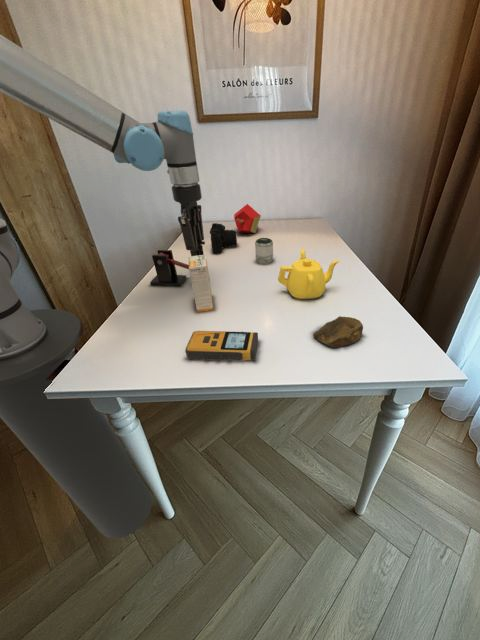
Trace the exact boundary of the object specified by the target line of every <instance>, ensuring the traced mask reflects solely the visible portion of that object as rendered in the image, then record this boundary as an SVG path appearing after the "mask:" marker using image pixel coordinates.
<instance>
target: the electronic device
mask: <svg viewBox="0 0 480 640" xmlns="http://www.w3.org/2000/svg"><path fill="white" fill-rule="evenodd" d="M258 345H259V333H258V332H252V331H251V332H250V331H224V330H223V331H220V330H219V331H218V330H217V331H216V330H195V331H193V332H192V333H191V335H190V337H189V340H188V343H187V345H186V347H185V354H186V357H187V358H188V359H189V360H213V361H214V360H217V361H254V362H255V361H256V357H257V351H258Z"/></svg>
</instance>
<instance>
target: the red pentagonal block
mask: <svg viewBox="0 0 480 640" xmlns="http://www.w3.org/2000/svg"><path fill="white" fill-rule="evenodd" d="M261 216H262V215H261V214H260V213H258V212H257V210H255V209H254V208H253V207H252V206H250V204H248V203H246V204H245V205H243V207H242V208H240V209H239V210H238V211H237V212H235V213H234V214H233V220H234V222H235V226H236V229H237V231H238V233H246V234H256V233H257V229H258V226H259V223H260V219H261V218H262V217H261Z"/></svg>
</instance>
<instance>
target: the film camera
mask: <svg viewBox="0 0 480 640" xmlns="http://www.w3.org/2000/svg"><path fill="white" fill-rule="evenodd" d="M209 234H210V242H211V243H210V244H211V249H212V254H214V255H220V254H222V252H223V249H225V248H227V247H228V248H229V247H236V246H237V245H238V238H237V231H236V230H234V229H226V226H225V225H224V224H222V223H218V222H216V223H214V222H213V223H212V225H211V227H210V229H209Z"/></svg>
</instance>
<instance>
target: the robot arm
mask: <svg viewBox="0 0 480 640" xmlns="http://www.w3.org/2000/svg"><path fill="white" fill-rule="evenodd" d="M0 93H2V94H4V95H5V96H7V97H9V98H11V99H13V100H14V101H16V102H19V103H20V104H22V105H24V106H25V107H28V108H29V109H31V110H33V111H34V112H37V113H38V114H41V115H42V116H44V117H46V118H47V119H49V120H51V121H53V122H55V123H57V124H59V125H61V126H62V127H64V128H66V129H67V130H70V131H72V132H73V133H75V134H76V135H79V136H80V137H83V138H84V139H87V140H88V141H90V142H92V143H94V144H95V145H97V146H98V147H101V148H102V149H105V150H106V151H108V152H110V153H112V155H113V158H114V160H115V162H116V163H118V164H130V165H132V167H134V168H135V169H138V170H140V171H143V172H151V171H154V170H157V169H158V168H159V167H160V166H161V165H162V163H163V162H164V160H165V161H166V165H167V171H166V173H167V174H168V176H169V181H170V184H171V185H172V186H171V194H172V197H173V200H174V202H176V203H178V204H180V215H181V216H178V217H177V221H178V223H179V226H180V230H181V233H182V238H183V242H184V245H185V249H186V251H189V253H190V256H198V255H205V254H204V248H203V246H204V245H205V244H206V241H204V240H205V235H204V225H203V216H202V205H201V204H198V201H200V200H202V198H203V197H202V189H201V185H200V184H199V182H200V175H199V168H198V163H197V157H196V156H197V155H196V150H195V149H196V148H195V141H194V132H193V127H192V122H191V117H190V114H189V113H188V112H187V111H186V110H165V111H164V110H163V111H158V113H157V119H156V121H154V122H139V121H138V120H136V119H135V118H133V117H131V116H130V115H129V114H127V113H124V112H123V111H122V110H120V109H118V108H117V107H116V106H114V105H112V104H111V103H109V102H108V101H106V100H105V99H103V98H101V97H100V96H98V95H96V94H95V93H93V92H92V91H90V90H89V89H87V88H86V87H85V86H82V85H81V84H79V83H77V82H76V81H74V80H73V79H71V78H70V77H69V76H67V75H65V74H64V73H62V72H61V71H59V70H57V69H56V68H54V67H53V66H51V65H49V64H48V63H46V62H45V61H43V60H42V59H40V58H39V57H37V56H35V55H33V54H32V53H31V52H29V51H28V50H25V49H24V48H23V47H21V46H19V45H17V43H15V42H13V41H11V40H10V39H8V38H7V37H5V36H4V35H2V34H0ZM20 259H21V253H20V247H19V244H18V243H17V241H16V239H15V238H14V237H13V236H12V235H11V234H10V231H9V228H8V224H7V223H6V220H4V219H3V218H1V217H0V361H4V360H8V359H11V358H14V357H17V356H20V355H22V354H24V353H26V352H28V351H30V350H32V349H34V348H35V347H37V346H38V345H39V344H40V343H41V342H43V340H44V339H45V338H46V336H47V334H48V330H47V328H46V326H45V324H44V323H43V322H42V321H41V320H40V319H39V318H38V317H37V316H35V315H34V314H33V313H32V312H31V310H30V309H28V308H27V307H26V306H25V305H24V304H23V302H22V301H21V299H20V297H19V295H18V294H17V292H16V290H15V289H14V287H13V285H12V283H11V282H10V281H11V279H12V277H13V275H14V273H15V271H16V269H17V268H18V267H19V264H20Z"/></svg>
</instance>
